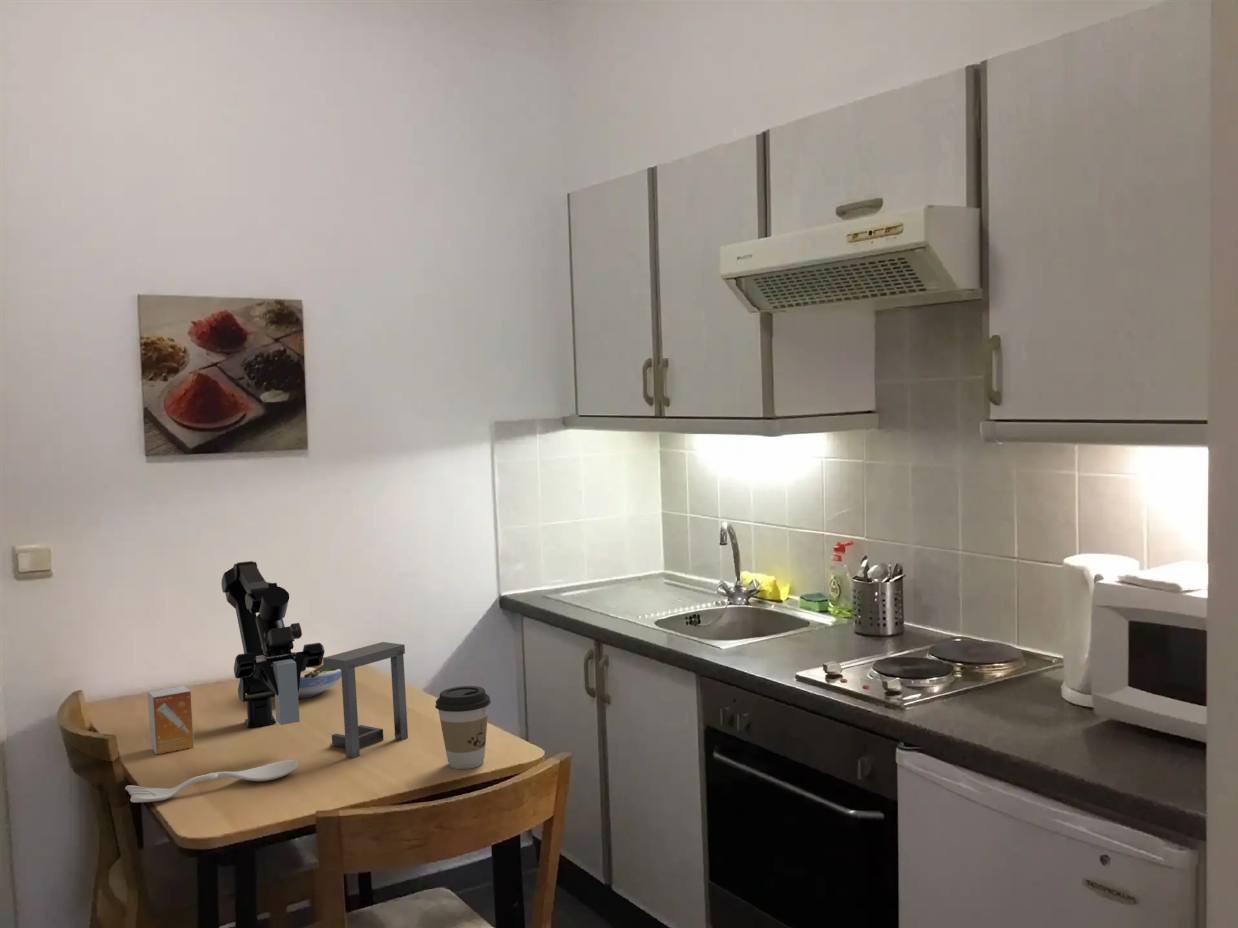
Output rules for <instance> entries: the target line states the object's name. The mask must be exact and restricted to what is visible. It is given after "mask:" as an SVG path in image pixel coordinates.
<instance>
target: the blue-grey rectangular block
mask: <svg viewBox="0 0 1238 928" xmlns="http://www.w3.org/2000/svg"><path fill="white" fill-rule="evenodd" d="M273 672H274V678H275V681H276V684H277V687H278V695H275V697H274V703H275V704H274V705H275V717H276V719H275V721H276V723H278V724H279V725H280V726H283V725H288V724H289V725H290V724H294V723H299V722H300V720H301V719H300V709H299V706H300V705H299V704H300V703H299V698H298V686H297V670H296V662H295V661H293V660H292V659H289V660H282V661H275V662H273Z"/></svg>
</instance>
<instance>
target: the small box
mask: <svg viewBox="0 0 1238 928" xmlns="http://www.w3.org/2000/svg"><path fill="white" fill-rule="evenodd" d="M191 693H192V692H191V690H190V689H189V688H188V687H186V685H182V686H177V687H170V688H169V687H168V688H165V689H164V688H163V689H161V690H160V689H159V690H153V691H152V690H151V691H148V692H147V702H148V705H147V706H148V720H149V721H148V722H149V736H150V738H149V739H150V748H152V749H153V750H154V751H153V750H152V749H151V750H152V751H153V752H154V754H155V755H161V754H166V752H167V753H170V752H171V753H172V752H177V751H176V750H178V751H183V749H184V750H188V749H187V748H189V749H194V748H193V747H195V746H194V743H195V742H194V728H193V727H194V725H193V709H192V708H193V707H192V694H191Z"/></svg>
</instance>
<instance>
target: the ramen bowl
mask: <svg viewBox="0 0 1238 928" xmlns="http://www.w3.org/2000/svg"><path fill="white" fill-rule="evenodd" d="M324 657H325V656H323V658H324ZM340 679H342V676H341V670H340V669H333V668H327V667H324V665H323V660H322V663H321V665H319V666H315V667H309V668H307V667H306V670H305V671H302V672H301V676H300V686H299V692H298V699H302V698H303V699H305V698H310V697H316V696H317V695H320V694H321V693H322V692H324V691H326V690H328V689H330V688H332V687H334V686H335V685H336V684H338V682H339V681H340Z"/></svg>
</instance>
